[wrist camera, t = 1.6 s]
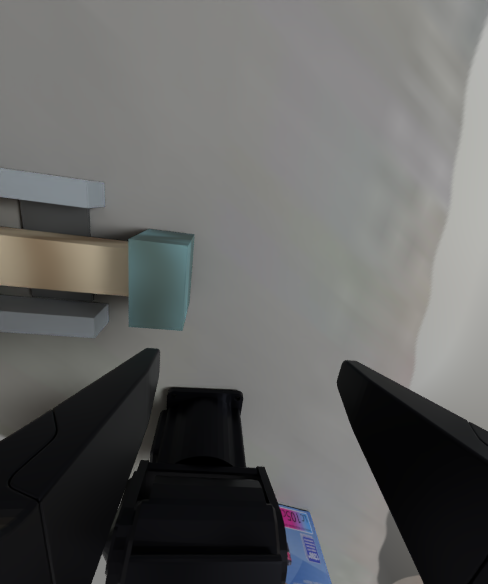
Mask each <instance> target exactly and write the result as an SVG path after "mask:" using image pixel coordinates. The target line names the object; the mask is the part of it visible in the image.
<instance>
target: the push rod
mask: <svg viewBox="0 0 488 584" xmlns="http://www.w3.org/2000/svg"><path fill="white" fill-rule="evenodd" d="M193 248H194V234H187V233H179V232H170V231H162V230H154V229H148V230H146V231H144V232H142V233H140V234H138V235H136V236H134V237H132V238H130V239H128V241H120V240H112V239H103V238H94V237H86V236H77V235H68V234H60V233H51V232H42V231H34V230H25V229H16V228H8V227H0V285H4V286H15V287H26V288H38V289H49V290H60V291H72V292H83V293H95V294H106V295H117V296H129V327H138V328H152V329H165V330H179V331H182V330H183V326H184V322H185V318H186V314H187V310H188V306H189V301H190V288H191V274H192V261H193Z"/></svg>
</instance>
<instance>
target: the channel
mask: <svg viewBox="0 0 488 584" xmlns="http://www.w3.org/2000/svg"><path fill="white" fill-rule="evenodd" d="M0 197H5V198H13V199H19V200H20V208H21V216H22V223H23V229H25V230H34V231H42V232H51V233H60V234H68V235H77V236H86V237H91V234H90V215H89V208H96V207H105V189H104V182H97V181H90V180H83V179H76V178H69V177H62V176H55V175H48V174H41V173H34V172H27V171H20V170H13V169H6V168H0ZM31 292H32V297H43V298H32V297H20V296H8V295H0V332H10V333H25V334H40V335H55V336H71V337H86V338H95V337H96V336H97V335H98V334H99V333H100V332H101V330H102V329H103V328H104V327H105V326H106V324H107V323H108V322H109V315H108V304H104V303H92V301H93V300H94V294H93V293H83V292H72V291H60V290H49V289H38V288H31ZM44 298H55V299H44ZM56 299H66V300H56ZM68 300H78V301H68ZM80 301H90V302H80Z"/></svg>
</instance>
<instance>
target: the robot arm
mask: <svg viewBox="0 0 488 584" xmlns="http://www.w3.org/2000/svg"><path fill="white" fill-rule="evenodd" d="M159 368H160V350H159V349H154V348H146V349H144V350H142V351H141V352H139V353H138V354H136V355H135V356H133V357H132V358H130V359H129V360H127V361H125V362H124V363H122V364H121V365H119V366H118V367H116V368H115V369H113V370H112V371H110V372H109V373H107V374H105V375H104V376H102V377H101V378H99V379H98V380H96V381H95V382H93V383H92V384H90V385H88V386H87V387H85V388H84V389H82V390H81V391H79V392H78V393H76V394H75V395H73V396H71V397H70V398H68V399H67V400H65V401H64V402H62V403H61V404H59V405H58V406H56V407H54V408H53V410H50V411H48V412H47V413H45V414H43V415H42V416H40V417H39V418H37V419H36V420H34V421H33V422H31V423H29V424H28V425H26V426H24V427H23V428H21V429H20V430H18V431H16V432H15V433H13V434H12V435H10V436H8V437H6V438H5V439H3V440H1V441H0V584H91V583H92V580H93V577H94V575H95V572H96V569H97V566H98V563H99V560H100V557H101V555H102V554H103V556H104V558H105V560H106V563H107V564H106V571H105V574H106V575H107V578H106V584H285V582H286V576H287V563H288V556H287V538H286V531H285V525H284V520H283V517H282V513H281V510H280V508H279V505H278V502H277V499H276V497H275V494H274V491H273V489H272V486H271V483H270V481H269V478H268V475H267V473H266V470H265V467H258V466H257V467H256V468H249V467H246V463H245V454H244V445H243V436H242V427H241V418H240V415H241V409H242V403H243V394H242V392H240V391H230V390H207V389H184V388H172V389H170V390H169V392H168V396H167V410H163V411H162V412H161V413H160V416H159V420H158V424H157V428H156V432H155V436H154V440H153V444H152V448H151V452H150V462H149V461H148V460H141V461H140V464H139V467H138V469H137V471H134V474H133V476H132V478H130V479H129V476H130V474H131V471H132V468H133V465H134V462H135V460H136V457H137V454H138V451H139V448H140V446H141V443H142V440H143V437H144V434H145V431H146V428H147V425H148V422H149V418H150V414H151V409H152V405H153V401H154V396H155V392H156V387H157V383H158V378H159ZM337 387H338V390H339V393H340V396H341V399H342V402H343V404H344V407H345V410H346V413H347V416H348V419H349V422H350V424H351V427H352V429H353V432H354V434H355V436H356V438H357V441H358V443H359V445H360V447H361V449H362V451H363V454H364V456H365V458H366V460H367V462H368V464H369V466H370V469H371V471H372V473H373V475H374V477H375V479H376V482H377V484H378V486H379V488H380V490H381V492H382V494H383V497H384V499H385V501H386V503H387V505H388V507H389V510H390V512H391V514H392V516H393V518H394V520H395V522H396V525H397V527H398V529H399V531H400V533H401V535H402V538H403V540H404V542H405V544H406V546H407V548H408V551H409V553H410V554H411V557H412V559H413V561H414V564H415V566H416V568H417V570H418V572H419V574H420V576H421V579H422V581H423V583H424V584H488V431H486V430H484V429H482V428H480V427H478V426H477V425H475V424H473V423H471V422H468V421H467V420H465V419H463V418H462V417H460V416H458V415H456V414H454V413H452V412H450V411H449V410H447V409H445V408H443V407H441V406H439V405H437V404H435V403H434V402H432V401H430V400H428V399H426V398H424V397H422V396H420V395H419V394H417V393H415V392H413V391H411V390H409V389H408V388H406V387H404V386H402V385H400V384H398V383H396V382H394V381H393V380H391V379H389V378H387V377H385V376H383V375H381V374H380V373H378V372H376V371H374V370H372V369H370V368H368V367H366V366H365V365H363V364H361V363H359V362H357V361H351V360H345V361H344V362H343V363H342V365H341V369H340V372H339V375H338V379H337ZM172 394H176V395H172ZM236 396H239V397H238V398H236ZM128 479H129V480H128ZM124 490H125V491H124ZM123 493H124V494H123ZM122 496H123V497H122ZM121 499H122V501H121ZM120 502H121V503H120ZM119 504H120V506H119ZM118 507H119V508H118ZM117 510H118V511H117Z"/></svg>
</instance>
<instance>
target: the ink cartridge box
mask: <svg viewBox="0 0 488 584" xmlns="http://www.w3.org/2000/svg"><path fill="white" fill-rule="evenodd" d="M278 505H279V504H278ZM279 508H280V510H281V513H282V517H283V520H284V525H285V531H286V538H287V556H288V563H287V576H286V582H285V584H332V583H331V580H330V577H329V573H328V570H327V567H326V564H325V560H324V557H323V554H322V551H321V547H320V544H319V541H318V538H317V534H316V531H315V528H314V524H313V521H312V518H311V515H310V512H308V511H303V510H299V509H295V508H291V507H287V506H283V505H279Z"/></svg>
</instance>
